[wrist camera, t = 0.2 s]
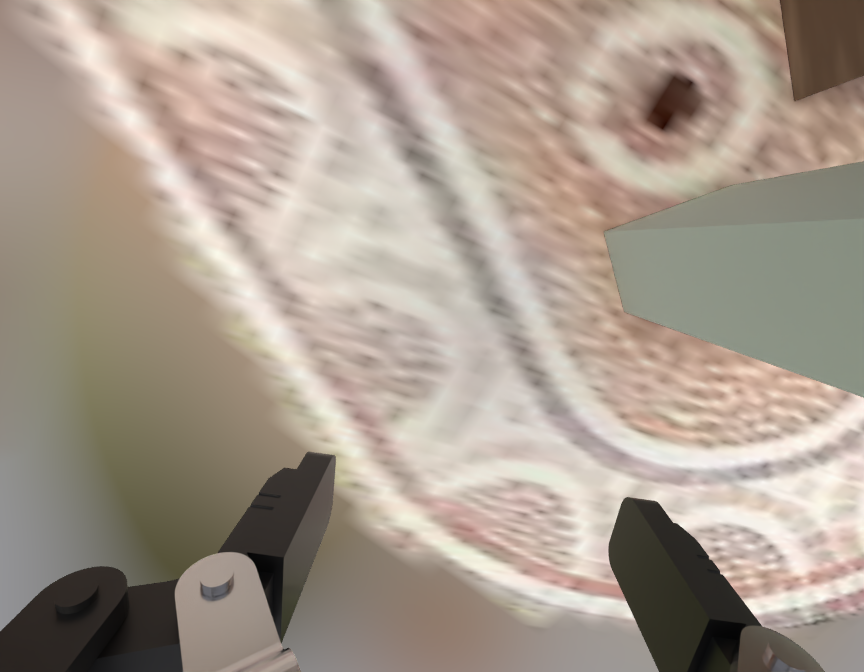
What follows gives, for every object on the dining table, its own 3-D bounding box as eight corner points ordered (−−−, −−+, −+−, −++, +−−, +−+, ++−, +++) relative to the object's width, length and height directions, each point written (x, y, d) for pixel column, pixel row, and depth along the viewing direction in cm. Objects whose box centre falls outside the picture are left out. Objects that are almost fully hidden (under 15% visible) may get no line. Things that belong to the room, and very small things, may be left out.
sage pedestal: (624, 311, 40) (908, 413, 16) (603, 231, 38) (888, 217, 15) (746, 269, 39) (1225, 311, 16) (731, 185, 37) (1244, 92, 14)
